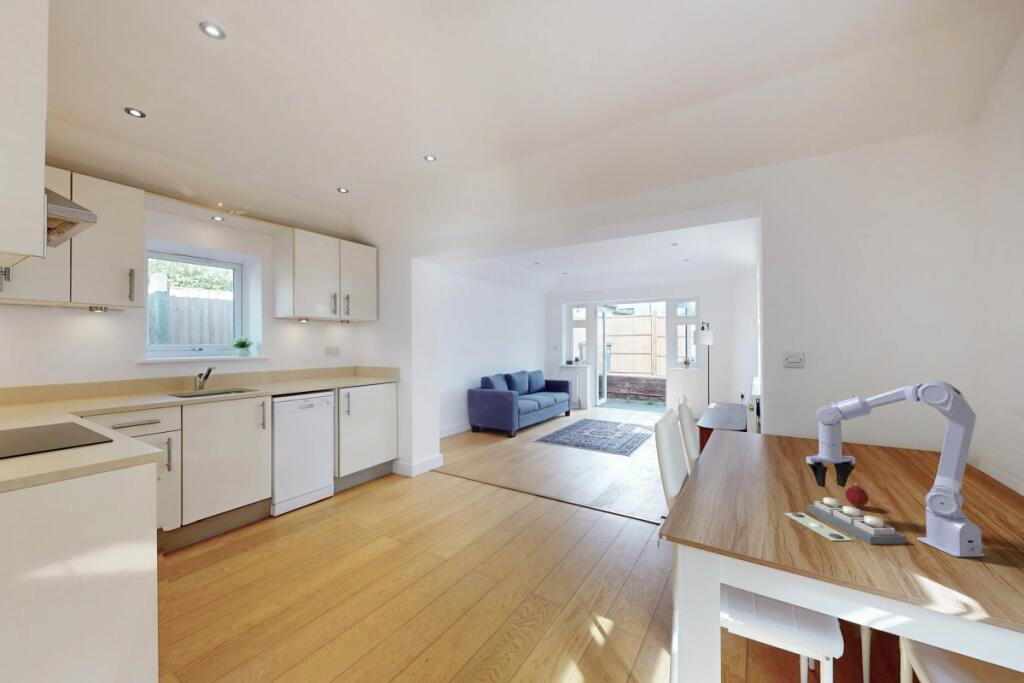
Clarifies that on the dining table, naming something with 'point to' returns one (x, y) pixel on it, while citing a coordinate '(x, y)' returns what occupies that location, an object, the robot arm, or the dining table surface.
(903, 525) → the dining table surface
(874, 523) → the button near
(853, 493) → the onion
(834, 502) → the button far
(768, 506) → the dining table surface
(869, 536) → the button board
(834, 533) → the card
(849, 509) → the button middle
